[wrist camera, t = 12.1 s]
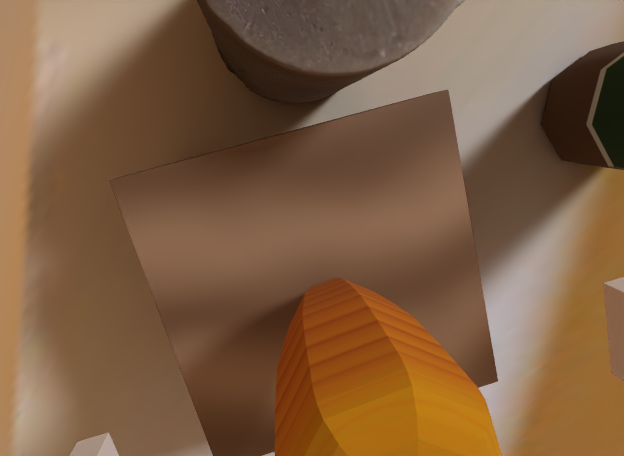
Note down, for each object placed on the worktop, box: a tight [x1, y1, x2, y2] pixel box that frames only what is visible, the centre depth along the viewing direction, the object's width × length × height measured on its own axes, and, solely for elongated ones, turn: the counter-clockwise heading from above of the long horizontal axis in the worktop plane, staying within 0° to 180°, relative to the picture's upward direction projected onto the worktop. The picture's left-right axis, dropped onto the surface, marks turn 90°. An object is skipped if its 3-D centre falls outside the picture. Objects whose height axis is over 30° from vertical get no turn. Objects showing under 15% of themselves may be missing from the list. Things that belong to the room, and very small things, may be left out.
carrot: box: [275, 278, 502, 456], centre depth 12 cm, size 5×5×15 cm
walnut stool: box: [110, 90, 498, 456], centre depth 24 cm, size 14×14×10 cm
